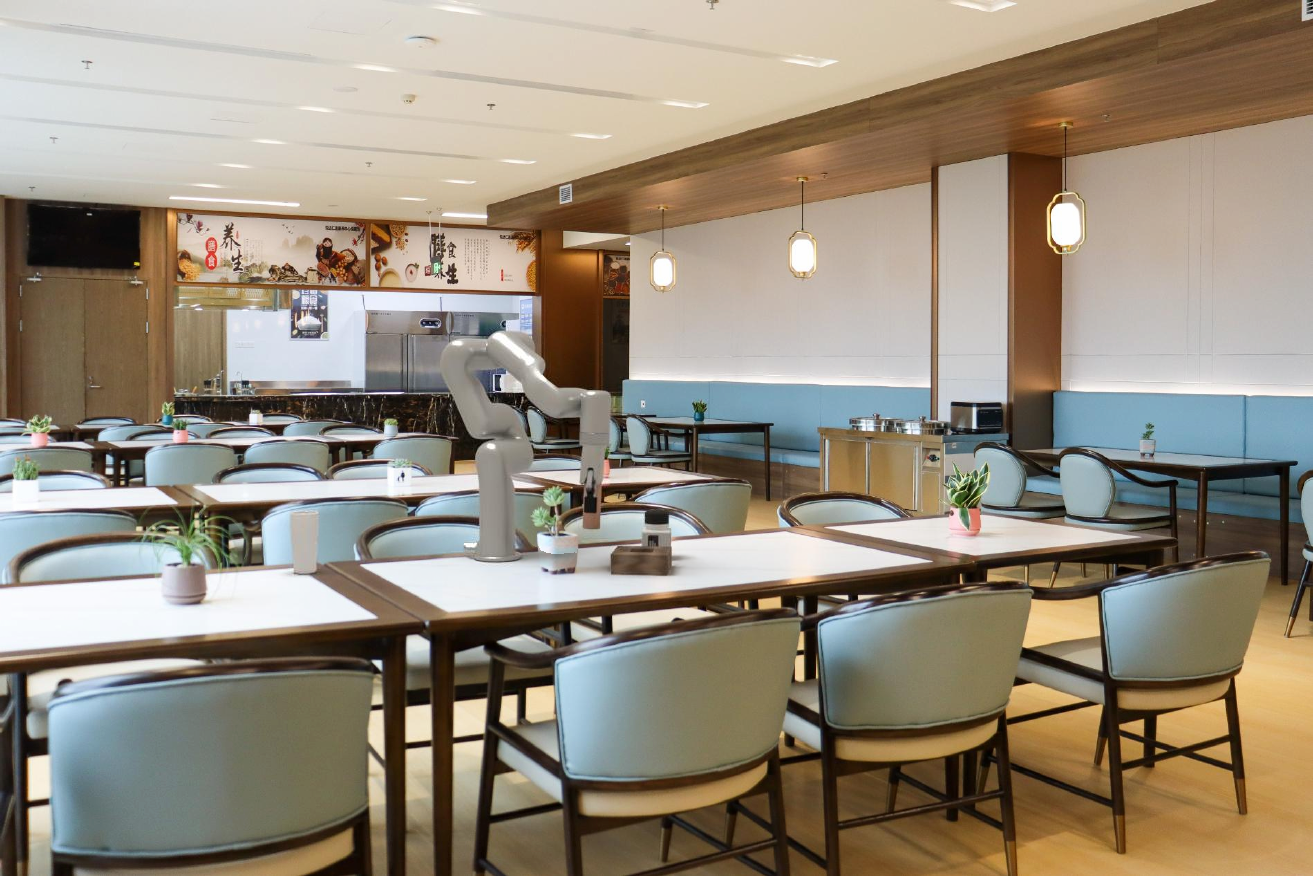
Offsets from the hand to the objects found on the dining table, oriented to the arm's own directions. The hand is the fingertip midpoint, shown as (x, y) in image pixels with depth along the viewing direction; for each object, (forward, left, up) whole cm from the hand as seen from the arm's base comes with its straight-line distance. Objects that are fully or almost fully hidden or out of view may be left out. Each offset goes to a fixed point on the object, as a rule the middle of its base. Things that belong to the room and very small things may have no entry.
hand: (591, 510), depth 293 cm
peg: (0, 0, -4) cm, 4 cm away
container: (+15, +19, -15) cm, 28 cm away
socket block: (+13, 0, -15) cm, 20 cm away
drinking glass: (-69, -14, -15) cm, 72 cm away
